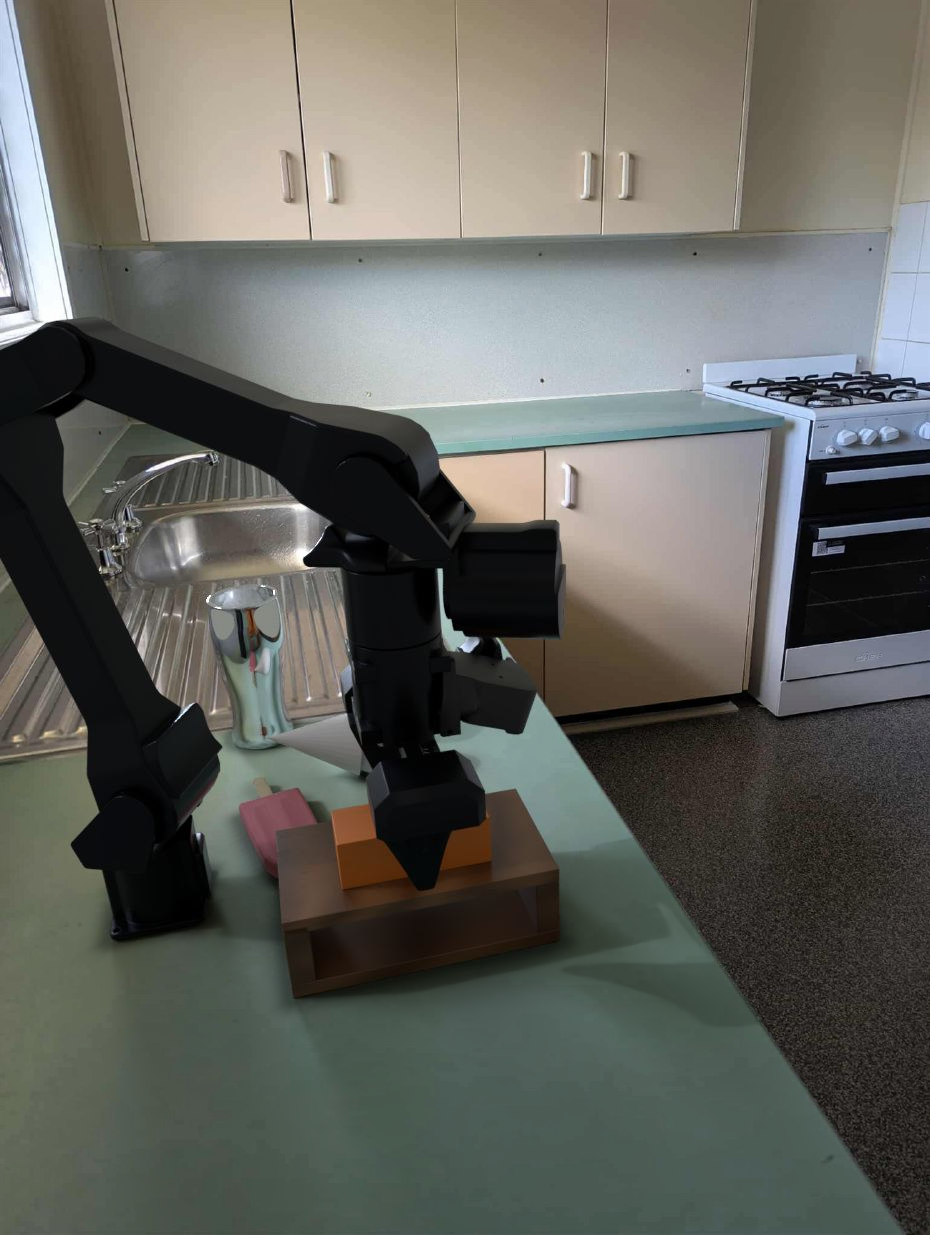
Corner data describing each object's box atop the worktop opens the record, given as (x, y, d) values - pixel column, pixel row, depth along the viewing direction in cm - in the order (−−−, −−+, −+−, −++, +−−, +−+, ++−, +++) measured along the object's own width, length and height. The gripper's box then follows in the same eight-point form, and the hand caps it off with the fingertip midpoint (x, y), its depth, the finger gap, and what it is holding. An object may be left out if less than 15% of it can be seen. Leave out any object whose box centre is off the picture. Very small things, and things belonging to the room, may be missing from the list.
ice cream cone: (265, 776, 81) (426, 782, 83) (261, 766, 75) (435, 773, 77) (270, 711, 82) (428, 718, 85) (267, 696, 77) (436, 705, 79)
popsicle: (285, 763, 80) (337, 851, 67) (287, 778, 80) (339, 868, 68) (227, 779, 78) (268, 873, 65) (229, 794, 78) (271, 891, 66)
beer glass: (214, 746, 87) (188, 605, 81) (253, 714, 93) (232, 580, 87) (274, 756, 84) (252, 612, 79) (311, 723, 90) (293, 586, 84)
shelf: (293, 998, 56) (281, 923, 54) (285, 898, 65) (275, 830, 63) (560, 941, 59) (559, 868, 57) (517, 853, 69) (515, 788, 66)
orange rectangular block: (342, 890, 56) (336, 845, 55) (335, 853, 60) (330, 810, 59) (491, 861, 58) (489, 817, 57) (477, 827, 62) (474, 784, 61)
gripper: (574, 676, 46) (574, 913, 52) (484, 569, 63) (492, 757, 69) (363, 708, 44) (389, 952, 50) (329, 588, 61) (351, 780, 67)
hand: (412, 845), depth 59 cm, fingers open, 9 cm apart
